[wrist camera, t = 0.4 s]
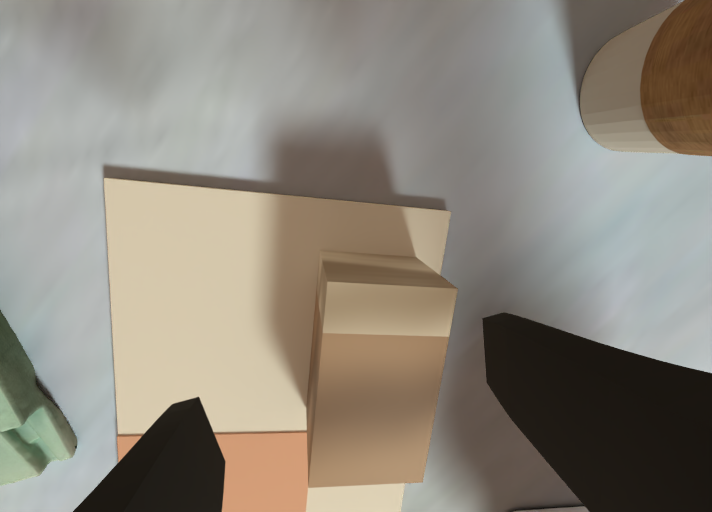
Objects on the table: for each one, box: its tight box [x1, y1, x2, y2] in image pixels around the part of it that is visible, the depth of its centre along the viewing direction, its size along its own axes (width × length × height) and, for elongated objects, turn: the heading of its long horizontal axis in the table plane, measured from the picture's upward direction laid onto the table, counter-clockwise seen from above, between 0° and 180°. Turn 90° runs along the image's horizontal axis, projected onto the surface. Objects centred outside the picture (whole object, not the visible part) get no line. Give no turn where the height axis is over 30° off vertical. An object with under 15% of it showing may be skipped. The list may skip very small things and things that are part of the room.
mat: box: [104, 178, 451, 512], centre depth 19 cm, size 24×16×1 cm, turn 174°
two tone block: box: [306, 250, 458, 488], centre depth 16 cm, size 9×5×5 cm, turn 174°
